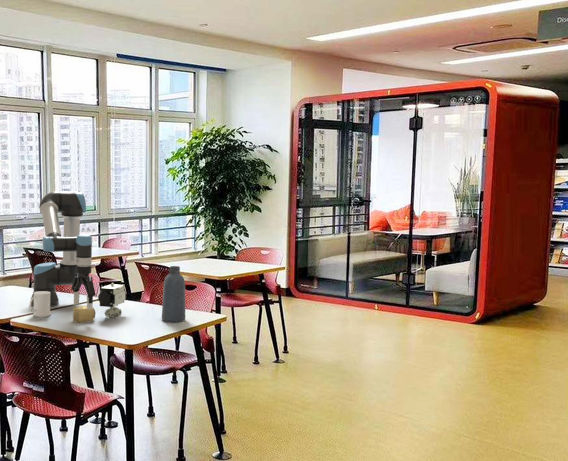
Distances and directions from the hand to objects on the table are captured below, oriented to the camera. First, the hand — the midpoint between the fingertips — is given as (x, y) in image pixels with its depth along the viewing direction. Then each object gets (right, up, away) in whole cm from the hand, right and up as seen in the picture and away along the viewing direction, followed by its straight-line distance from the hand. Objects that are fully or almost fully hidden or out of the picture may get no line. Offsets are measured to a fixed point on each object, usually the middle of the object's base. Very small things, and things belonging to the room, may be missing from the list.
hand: (82, 306), depth 314 cm
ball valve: (+12, -7, +12) cm, 19 cm away
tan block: (0, -7, 0) cm, 7 cm away
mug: (-26, -6, +8) cm, 27 cm away
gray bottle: (+44, -8, +9) cm, 46 cm away
